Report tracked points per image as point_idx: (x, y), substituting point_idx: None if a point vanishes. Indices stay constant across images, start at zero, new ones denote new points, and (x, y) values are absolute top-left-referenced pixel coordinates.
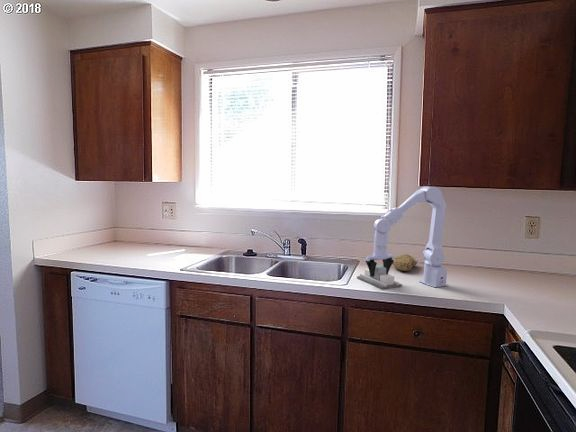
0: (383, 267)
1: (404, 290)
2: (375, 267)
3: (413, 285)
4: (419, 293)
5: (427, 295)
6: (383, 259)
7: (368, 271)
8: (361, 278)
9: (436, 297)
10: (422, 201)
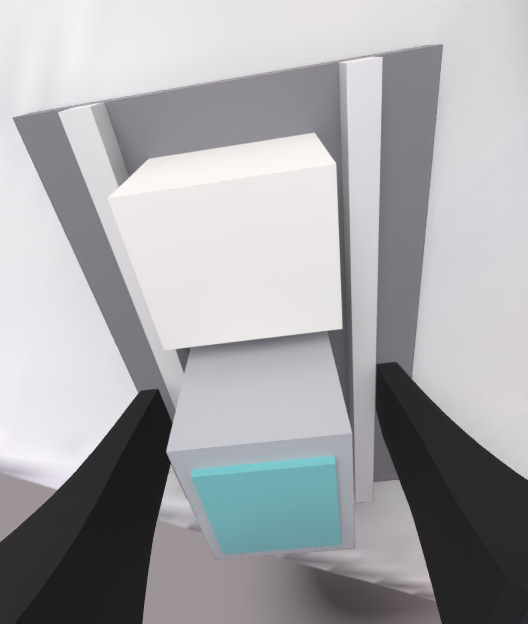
0: (316, 546)
1: None
2: (145, 584)
3: (519, 453)
4: (394, 551)
5: (409, 571)
6: (500, 602)
7: (153, 304)
8: (71, 241)
9: (427, 589)
10: None
